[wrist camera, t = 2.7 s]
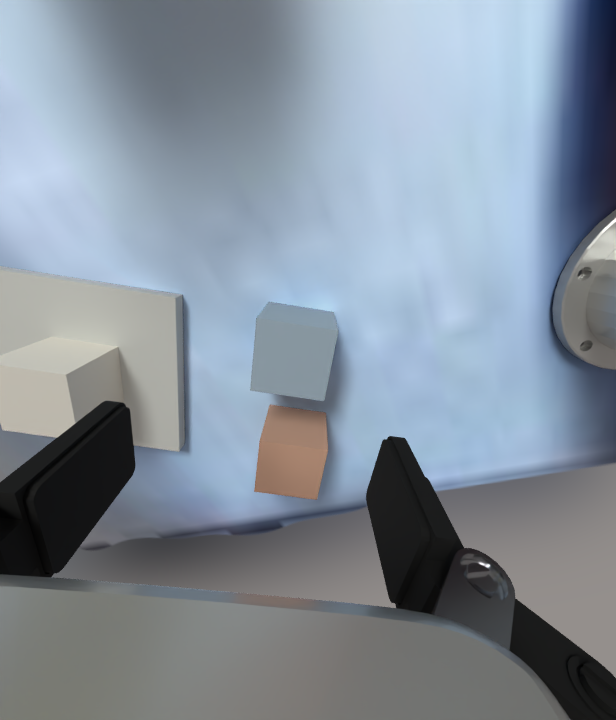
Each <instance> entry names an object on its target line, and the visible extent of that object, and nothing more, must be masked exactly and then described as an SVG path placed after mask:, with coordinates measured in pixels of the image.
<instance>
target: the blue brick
mask: <svg viewBox="0 0 616 720" xmlns="http://www.w3.org/2000/svg"><path fill="white" fill-rule="evenodd" d="M338 331H339V330H338V326H337V323H336V319H335V315H334V312H331V311H324V310H318V309H312V308H305V307H299V306H293V305H286V304H280V303H274V302H268V304H267V305H266V306H265V307H264V309H263V310H262V311H261V313H260V314H259V315H258V317H257V318H256V329H255V341H254V353H253V364H252V376H251V388H250V390H251V391H258V392H264V393H271V394H278V395H285V396H292V397H299V398H305V399H312V400H319V401H324V400H325V395H326V390H327V385H328V380H329V375H330V370H331V365H332V361H333V356H334V351H335V346H336V341H337V336H338Z"/></svg>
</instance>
